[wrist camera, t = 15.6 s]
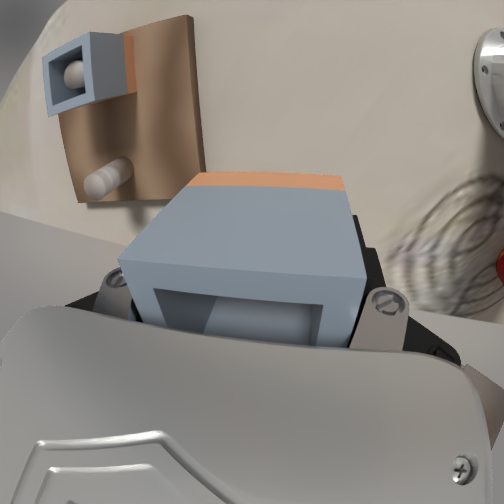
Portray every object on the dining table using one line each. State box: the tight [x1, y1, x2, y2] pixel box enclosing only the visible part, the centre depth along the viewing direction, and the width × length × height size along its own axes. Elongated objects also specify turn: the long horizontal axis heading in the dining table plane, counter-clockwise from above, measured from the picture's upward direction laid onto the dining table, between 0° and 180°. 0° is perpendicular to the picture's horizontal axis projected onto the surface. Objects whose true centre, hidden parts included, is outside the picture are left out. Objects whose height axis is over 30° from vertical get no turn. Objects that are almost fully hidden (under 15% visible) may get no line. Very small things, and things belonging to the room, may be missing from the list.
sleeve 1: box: [42, 32, 137, 117], centre depth 17 cm, size 6×6×6 cm
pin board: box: [58, 15, 206, 203], centre depth 20 cm, size 16×17×6 cm
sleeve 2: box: [118, 172, 367, 348], centre depth 10 cm, size 6×6×6 cm
